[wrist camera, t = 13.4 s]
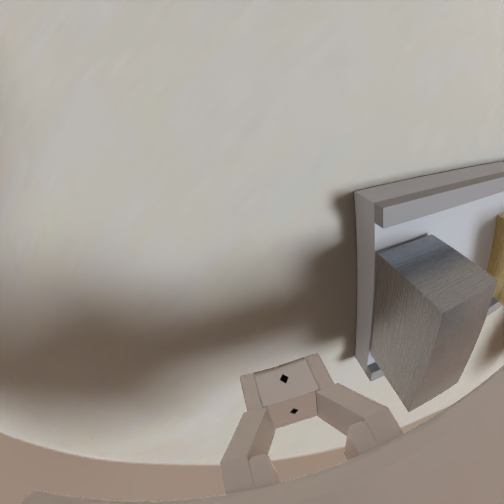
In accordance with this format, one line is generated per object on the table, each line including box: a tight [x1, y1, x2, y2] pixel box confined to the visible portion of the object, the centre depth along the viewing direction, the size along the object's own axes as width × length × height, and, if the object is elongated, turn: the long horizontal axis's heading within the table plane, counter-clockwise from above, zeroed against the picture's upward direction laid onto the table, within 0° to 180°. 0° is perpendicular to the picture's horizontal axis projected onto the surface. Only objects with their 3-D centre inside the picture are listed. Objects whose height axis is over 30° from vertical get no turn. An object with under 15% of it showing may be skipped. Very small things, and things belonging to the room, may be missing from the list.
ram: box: [371, 234, 498, 412], centre depth 11 cm, size 4×6×4 cm
